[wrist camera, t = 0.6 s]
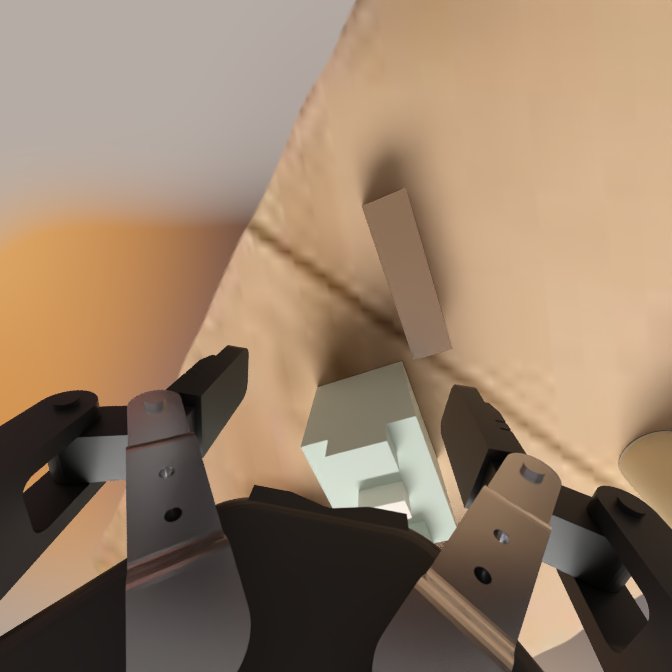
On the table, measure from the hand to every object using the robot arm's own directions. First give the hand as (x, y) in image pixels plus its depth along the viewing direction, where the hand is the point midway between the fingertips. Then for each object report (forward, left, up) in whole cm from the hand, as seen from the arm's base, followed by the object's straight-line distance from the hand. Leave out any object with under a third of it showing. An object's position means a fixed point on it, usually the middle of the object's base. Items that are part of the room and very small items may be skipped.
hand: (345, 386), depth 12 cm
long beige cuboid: (-5, +1, -21) cm, 21 cm away
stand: (+3, +17, -21) cm, 27 cm away
